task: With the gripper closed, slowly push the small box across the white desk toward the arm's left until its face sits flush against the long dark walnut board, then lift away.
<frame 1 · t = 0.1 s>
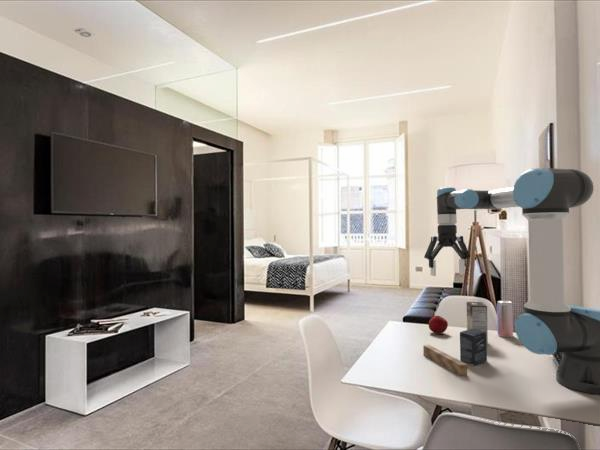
hand: (447, 275, 160), 28 cm above the table, fingers open, 13 cm apart
apple: (438, 333, 173), on the table
box: (473, 362, 135), on the table
coffee box: (477, 342, 159), on the table
board: (443, 364, 133), on the table
beverage can: (505, 336, 168), on the table
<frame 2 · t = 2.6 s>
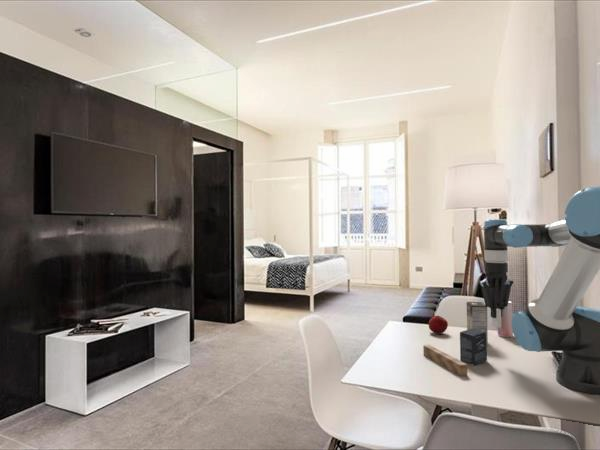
hand: (496, 326, 138), 12 cm above the table, fingers closed
nothing on the table moved.
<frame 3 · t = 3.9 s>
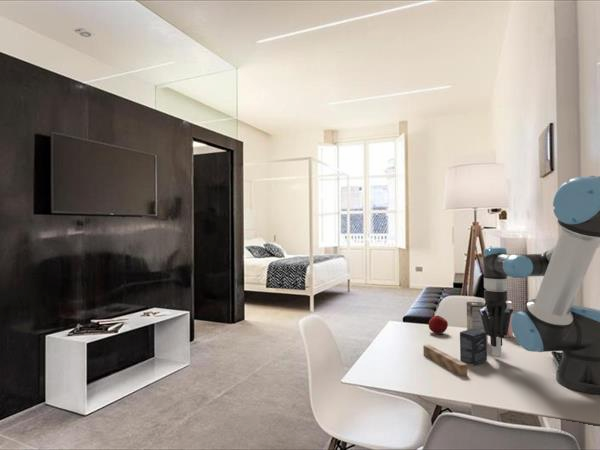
hand: (496, 355, 138), 1 cm above the table, fingers closed
nothing on the table moved.
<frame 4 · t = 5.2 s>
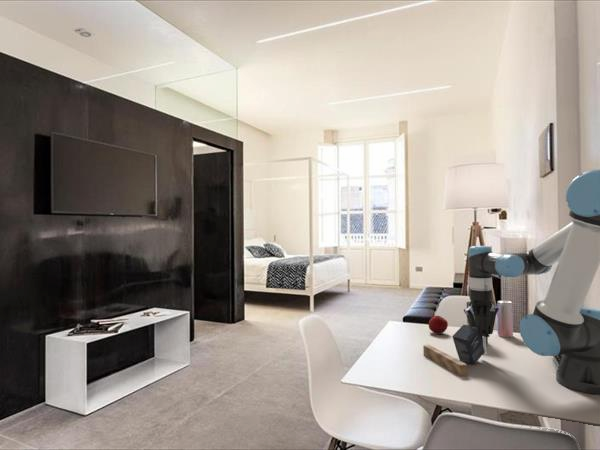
hand: (482, 353, 137), 2 cm above the table, fingers closed
box: (472, 357, 136), point 1 cm above the table, touching gripper, hand
everything else where it was.
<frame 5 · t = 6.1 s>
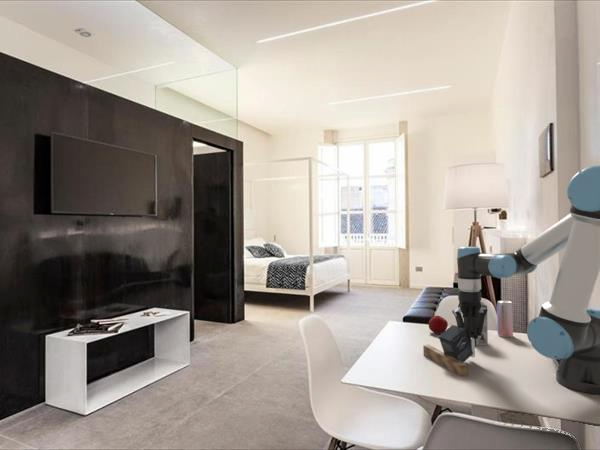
hand: (471, 355, 136), 2 cm above the table, fingers closed
box: (460, 358, 135), point 1 cm above the table, touching board, hand
everything else where it was.
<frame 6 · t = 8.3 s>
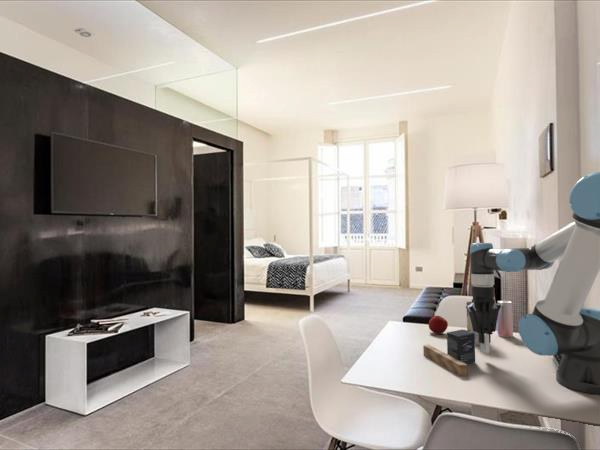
hand: (485, 352, 136), 3 cm above the table, fingers closed
box: (461, 363, 134), on the table
everything else where it was.
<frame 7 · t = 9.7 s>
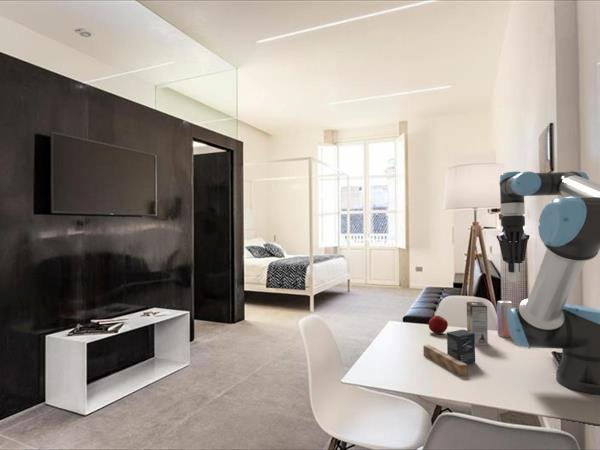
hand: (514, 281, 135), 28 cm above the table, fingers closed
nothing on the table moved.
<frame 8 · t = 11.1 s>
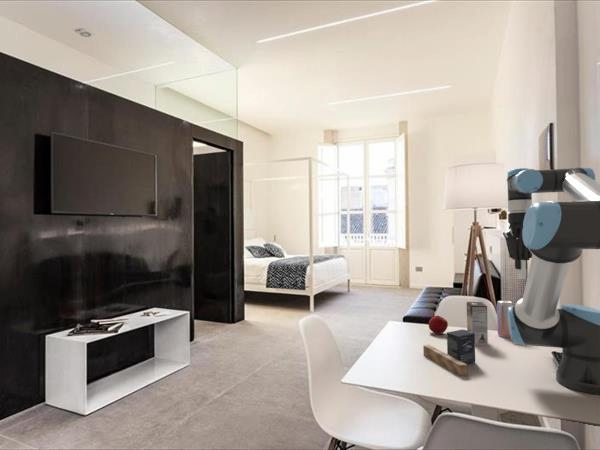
hand: (521, 278, 136), 29 cm above the table, fingers closed
nothing on the table moved.
at the end: box inside the target area on the table beside the board (0.1 cm from its centre), on the table; box tilted 0° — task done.
